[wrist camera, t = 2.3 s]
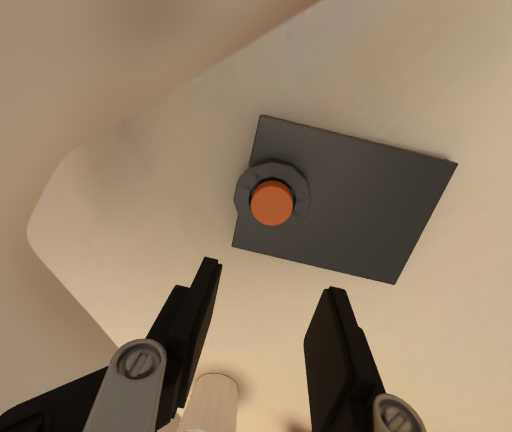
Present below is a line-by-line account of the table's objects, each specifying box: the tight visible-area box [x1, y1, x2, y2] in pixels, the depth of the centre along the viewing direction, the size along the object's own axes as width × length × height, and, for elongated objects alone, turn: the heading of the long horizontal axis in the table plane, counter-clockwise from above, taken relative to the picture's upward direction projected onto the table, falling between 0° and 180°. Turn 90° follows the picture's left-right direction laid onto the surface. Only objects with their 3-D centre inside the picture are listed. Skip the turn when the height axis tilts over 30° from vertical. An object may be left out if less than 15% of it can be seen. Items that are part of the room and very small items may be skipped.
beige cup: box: [177, 373, 238, 432], centre depth 33 cm, size 7×7×7 cm
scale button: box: [251, 180, 293, 226], centre depth 22 cm, size 3×3×2 cm
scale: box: [232, 115, 458, 285], centre depth 24 cm, size 17×12×3 cm
